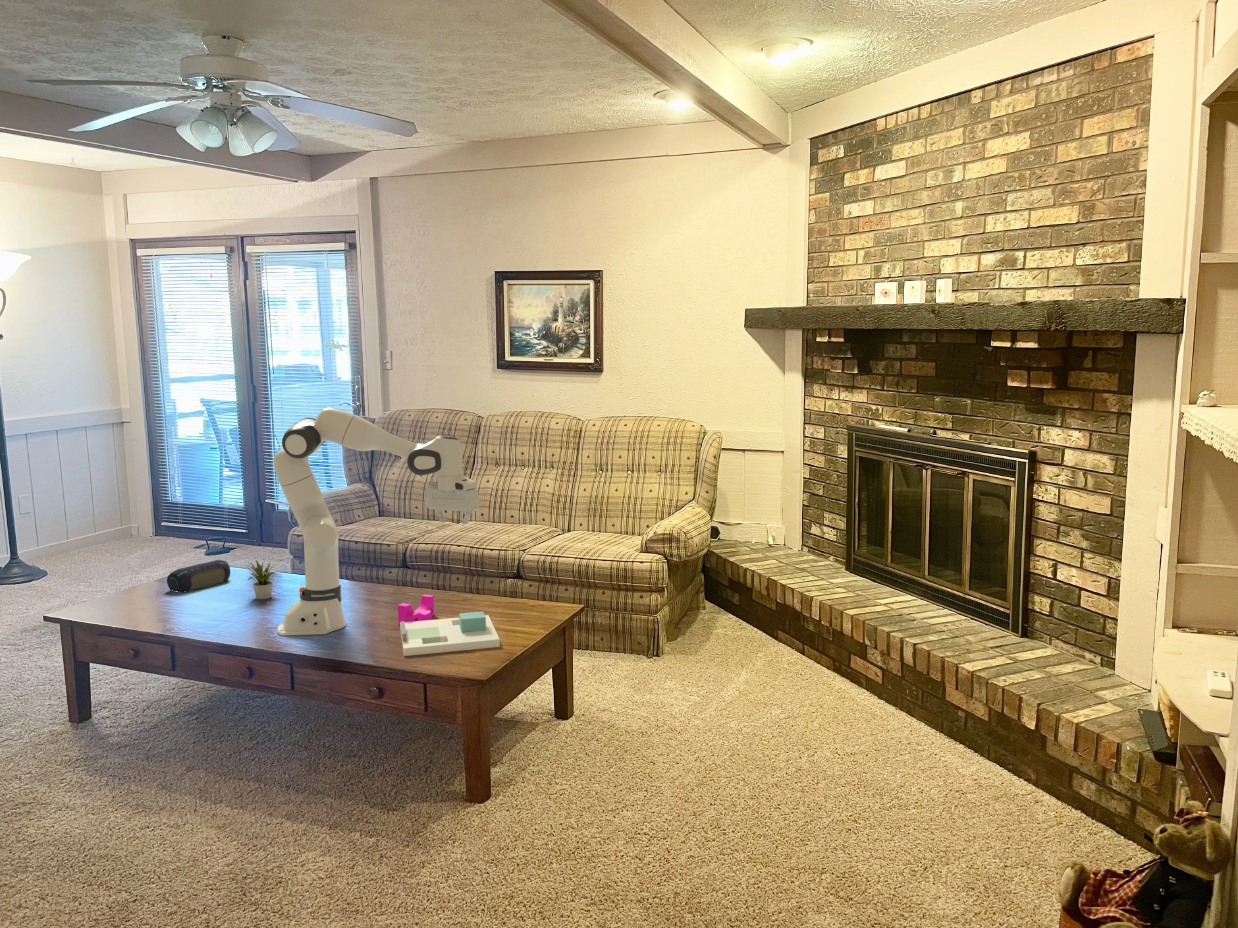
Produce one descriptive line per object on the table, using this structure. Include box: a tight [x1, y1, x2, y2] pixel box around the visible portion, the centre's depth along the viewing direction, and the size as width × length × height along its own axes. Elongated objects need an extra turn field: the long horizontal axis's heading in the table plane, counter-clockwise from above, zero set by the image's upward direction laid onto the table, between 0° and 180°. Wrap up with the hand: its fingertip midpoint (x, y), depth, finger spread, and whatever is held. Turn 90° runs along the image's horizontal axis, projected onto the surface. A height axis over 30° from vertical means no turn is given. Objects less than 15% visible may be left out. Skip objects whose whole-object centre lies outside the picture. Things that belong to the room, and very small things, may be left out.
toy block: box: [397, 594, 435, 626], centre depth 326 cm, size 15×6×8 cm, turn 153°
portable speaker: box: [166, 559, 231, 593], centre depth 373 cm, size 25×10×10 cm, turn 150°
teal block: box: [458, 611, 486, 633], centre depth 308 cm, size 8×7×4 cm
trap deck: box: [399, 614, 501, 657], centre depth 306 cm, size 30×28×5 cm
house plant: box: [242, 558, 280, 600], centre depth 355 cm, size 14×14×16 cm
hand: (453, 523), depth 314 cm, fingers open, 8 cm apart
